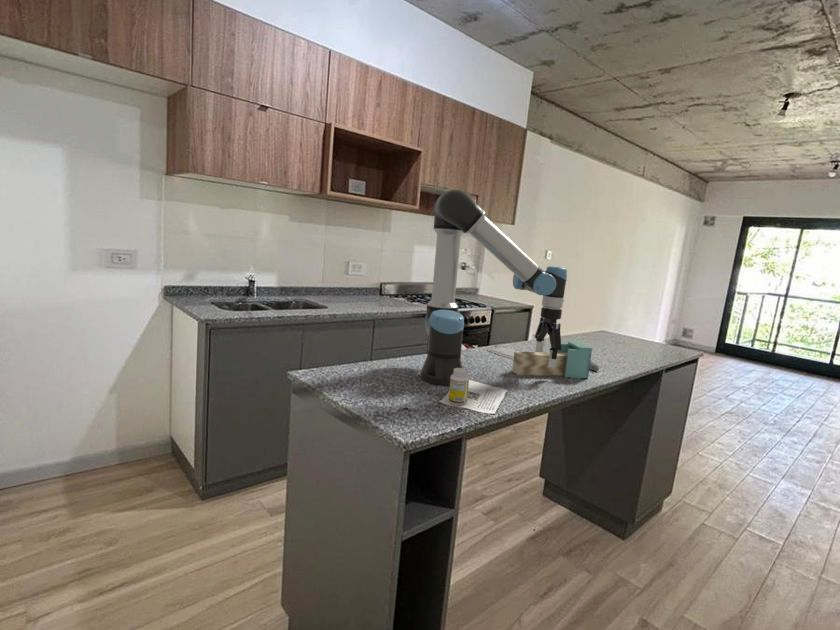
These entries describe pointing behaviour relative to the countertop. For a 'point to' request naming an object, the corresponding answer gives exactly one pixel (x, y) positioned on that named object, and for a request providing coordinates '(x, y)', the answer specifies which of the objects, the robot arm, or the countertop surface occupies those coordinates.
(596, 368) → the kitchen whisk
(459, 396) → the supplement bottle
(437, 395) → the countertop surface
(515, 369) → the beige zigzag patterned block
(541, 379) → the countertop surface
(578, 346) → the end cap
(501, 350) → the baseboard
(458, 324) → the robot arm
